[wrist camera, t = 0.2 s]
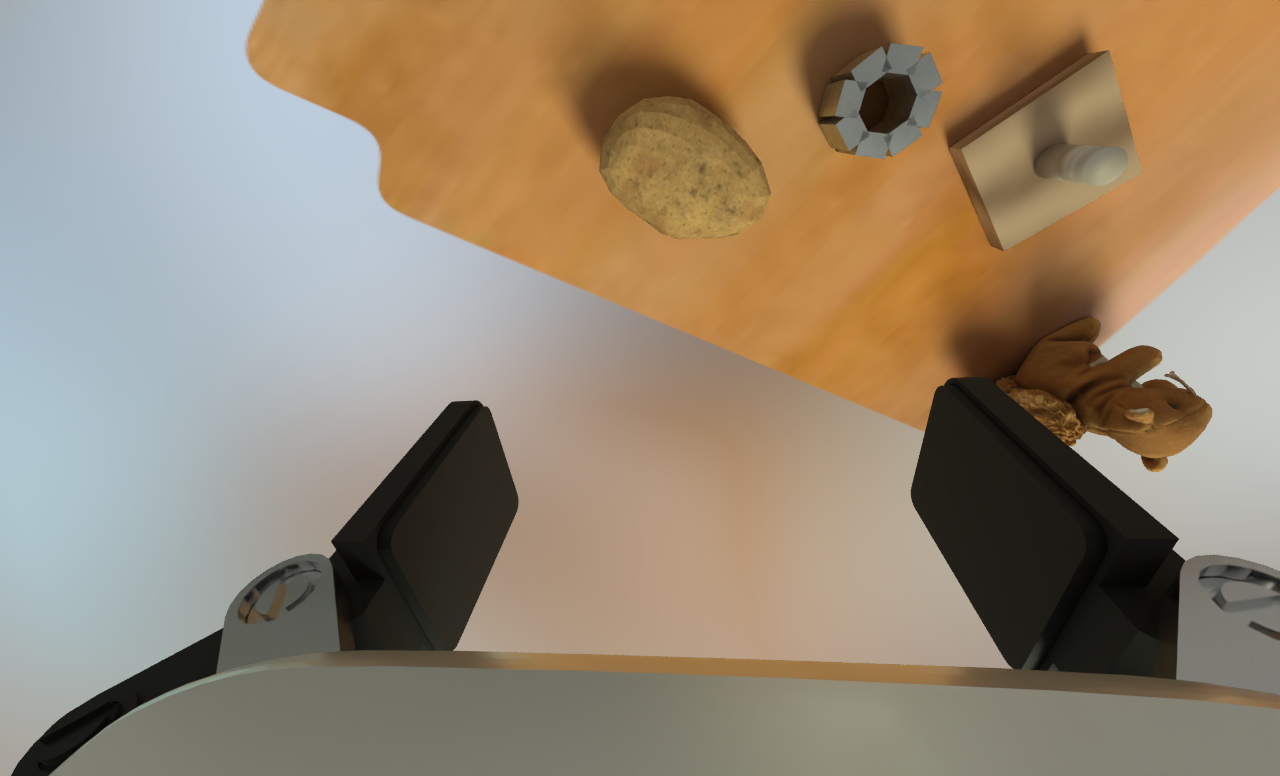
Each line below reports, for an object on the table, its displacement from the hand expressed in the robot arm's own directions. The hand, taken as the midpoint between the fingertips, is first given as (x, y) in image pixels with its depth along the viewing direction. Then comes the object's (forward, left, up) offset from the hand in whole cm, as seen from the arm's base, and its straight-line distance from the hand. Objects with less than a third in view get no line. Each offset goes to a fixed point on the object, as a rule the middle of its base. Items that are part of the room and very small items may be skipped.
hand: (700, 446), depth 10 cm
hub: (+3, +15, -37) cm, 40 cm away
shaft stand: (+15, +24, -37) cm, 46 cm away
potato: (-2, +1, -37) cm, 37 cm away
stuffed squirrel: (+36, +18, -37) cm, 55 cm away
